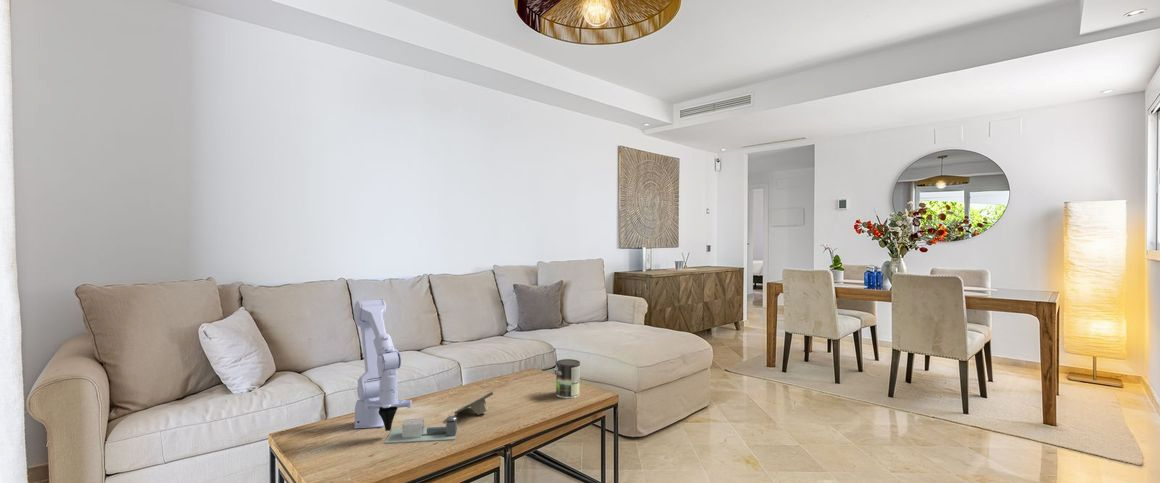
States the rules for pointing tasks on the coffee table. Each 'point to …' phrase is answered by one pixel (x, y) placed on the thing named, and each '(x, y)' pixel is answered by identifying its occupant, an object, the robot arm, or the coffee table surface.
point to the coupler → (445, 428)
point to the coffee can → (567, 378)
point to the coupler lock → (412, 428)
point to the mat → (397, 438)
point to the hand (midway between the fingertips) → (388, 429)
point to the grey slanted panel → (477, 405)
